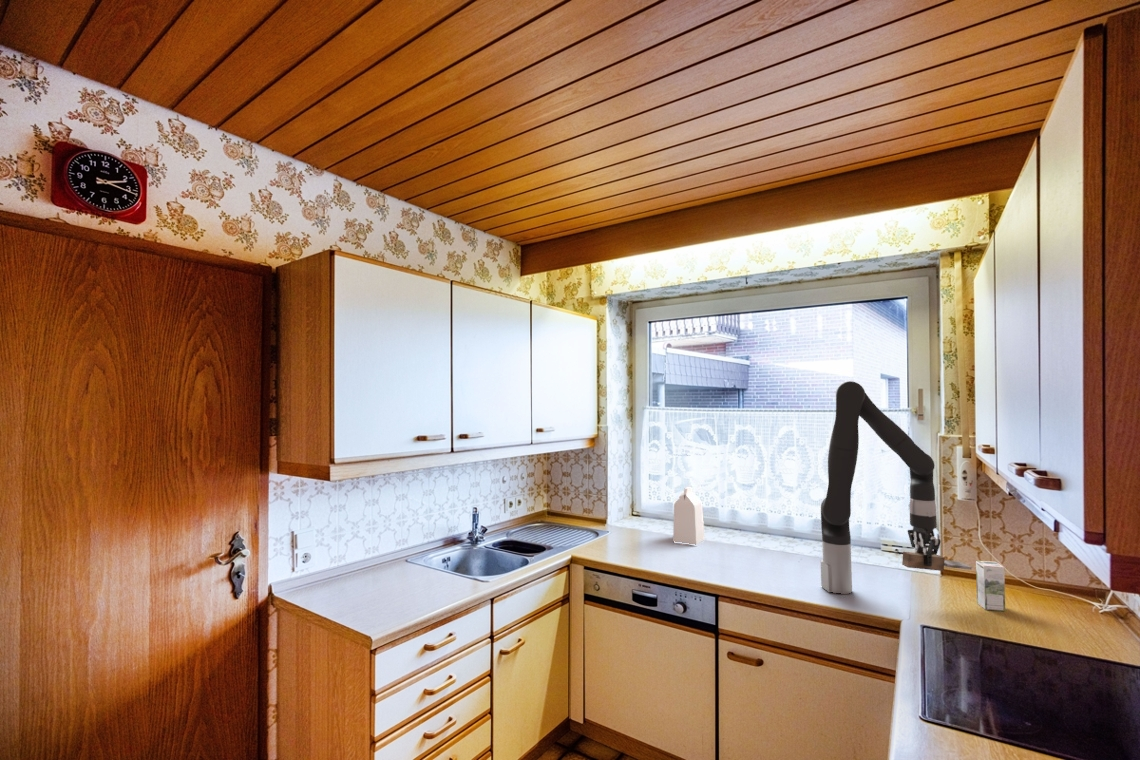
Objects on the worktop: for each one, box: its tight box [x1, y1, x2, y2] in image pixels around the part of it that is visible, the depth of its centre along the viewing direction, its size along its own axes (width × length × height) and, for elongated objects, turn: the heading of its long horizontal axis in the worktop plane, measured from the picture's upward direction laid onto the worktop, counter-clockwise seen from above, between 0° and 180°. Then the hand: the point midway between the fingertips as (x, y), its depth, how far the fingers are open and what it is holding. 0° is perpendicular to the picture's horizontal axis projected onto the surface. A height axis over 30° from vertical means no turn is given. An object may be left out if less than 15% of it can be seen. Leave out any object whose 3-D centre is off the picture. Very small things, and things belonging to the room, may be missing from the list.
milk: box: [672, 486, 706, 545], centre depth 256 cm, size 12×12×26 cm
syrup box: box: [975, 560, 1006, 612], centre depth 173 cm, size 6×6×14 cm
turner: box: [901, 551, 973, 572], centre depth 178 cm, size 20×6×4 cm, turn 90°
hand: (924, 564), depth 178 cm, fingers closed on turner, 3 cm apart
